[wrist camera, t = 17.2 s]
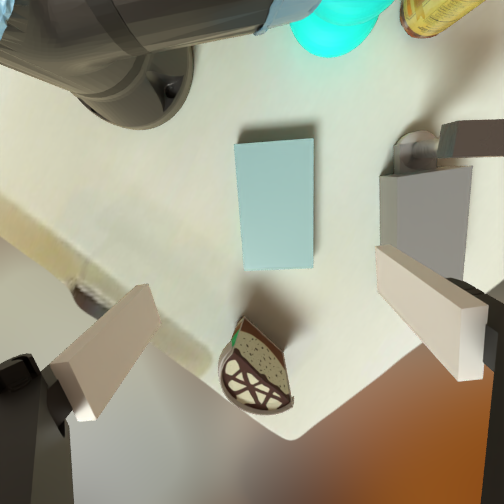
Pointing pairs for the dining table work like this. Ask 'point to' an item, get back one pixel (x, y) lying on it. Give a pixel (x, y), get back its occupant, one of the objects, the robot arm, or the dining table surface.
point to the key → (464, 140)
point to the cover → (276, 203)
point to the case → (426, 208)
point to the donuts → (338, 26)
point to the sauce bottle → (433, 15)
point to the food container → (254, 372)
